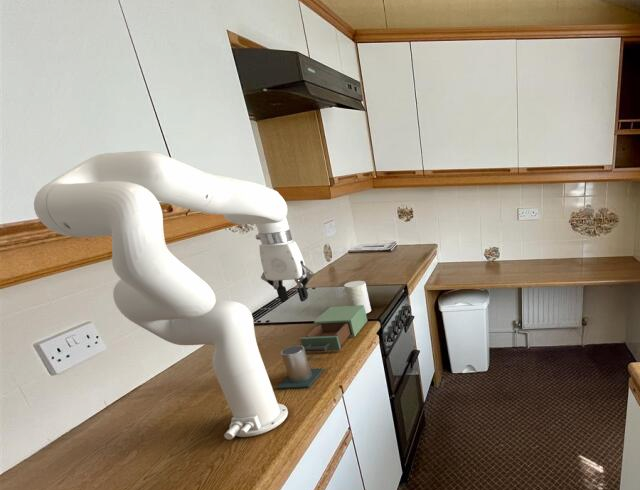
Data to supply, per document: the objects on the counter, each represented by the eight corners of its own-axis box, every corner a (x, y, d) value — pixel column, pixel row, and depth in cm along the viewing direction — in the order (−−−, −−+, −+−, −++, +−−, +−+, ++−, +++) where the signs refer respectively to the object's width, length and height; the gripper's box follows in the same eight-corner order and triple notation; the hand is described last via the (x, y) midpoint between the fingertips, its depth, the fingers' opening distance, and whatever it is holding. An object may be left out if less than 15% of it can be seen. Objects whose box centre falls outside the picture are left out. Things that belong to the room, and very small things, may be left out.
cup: (346, 314, 165) (339, 286, 160) (357, 307, 173) (351, 280, 167) (364, 315, 164) (357, 287, 158) (374, 308, 171) (369, 281, 166)
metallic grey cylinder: (306, 382, 116) (298, 354, 113) (286, 383, 116) (276, 355, 113) (315, 371, 122) (307, 344, 118) (295, 372, 122) (287, 345, 118)
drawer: (334, 356, 130) (330, 343, 127) (297, 358, 130) (293, 345, 128) (353, 333, 146) (350, 320, 144) (321, 334, 146) (317, 322, 144)
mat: (308, 387, 115) (308, 386, 114) (277, 389, 115) (276, 387, 114) (323, 370, 124) (322, 368, 123) (294, 371, 124) (293, 369, 123)
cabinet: (354, 336, 145) (350, 319, 142) (318, 338, 145) (313, 321, 142) (367, 320, 158) (364, 305, 156) (334, 322, 158) (330, 306, 156)
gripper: (237, 242, 108) (258, 306, 115) (301, 239, 108) (318, 303, 115) (253, 236, 115) (272, 297, 122) (313, 233, 114) (328, 294, 122)
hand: (294, 299), depth 119 cm, fingers open, 5 cm apart
